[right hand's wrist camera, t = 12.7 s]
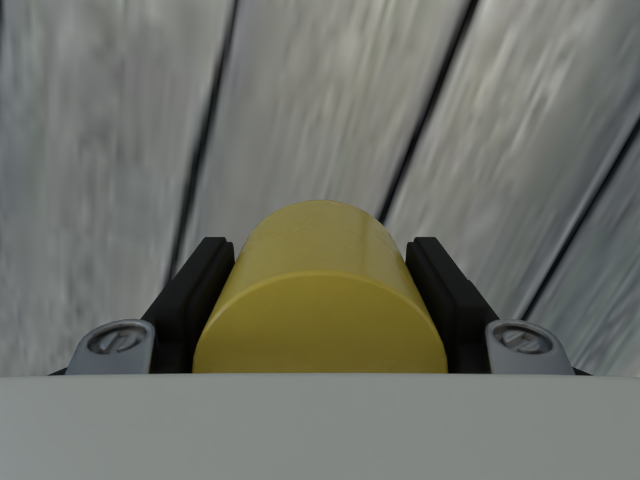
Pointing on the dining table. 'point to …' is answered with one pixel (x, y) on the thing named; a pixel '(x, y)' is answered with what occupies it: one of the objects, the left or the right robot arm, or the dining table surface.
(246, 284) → the tin
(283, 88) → the dining table surface
